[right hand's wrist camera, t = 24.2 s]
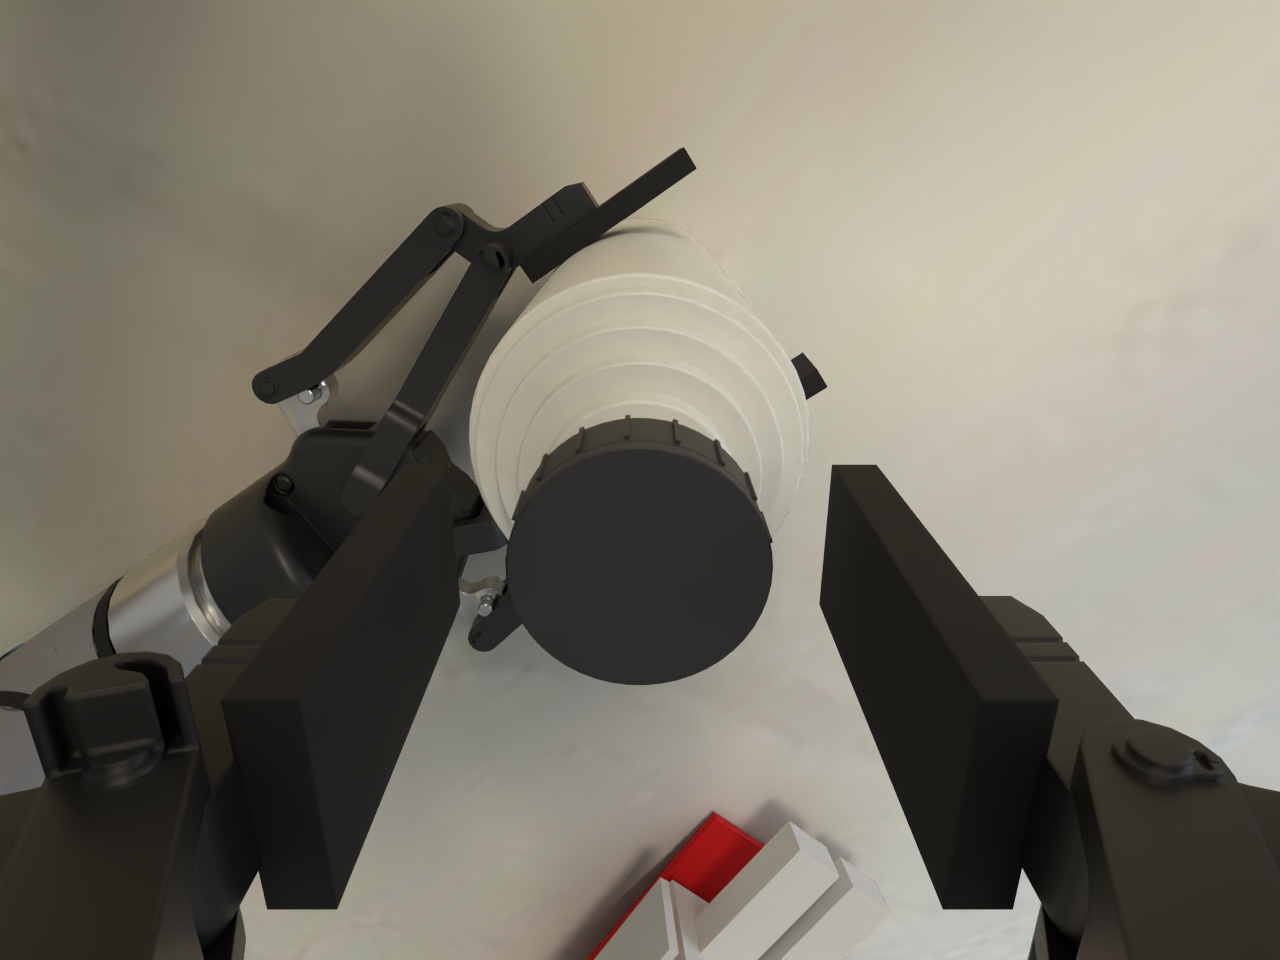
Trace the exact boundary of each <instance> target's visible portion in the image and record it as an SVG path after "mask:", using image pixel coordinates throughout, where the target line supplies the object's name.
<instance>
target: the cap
mask: <svg viewBox="0 0 1280 960" xmlns="http://www.w3.org/2000/svg"><path fill="white" fill-rule="evenodd" d="M756 500H758V498H757V496H756V493H755V490H754V487H753V484H752V481H751V478H750V475H749V473H748V472H745V473H744V472H743V471H742V469H741V468H740V467H739V465H738V464H737V462H736V461H735V460H734V459H733V458H732V457H731V456H730V455H729V454H728V453H727V452H726V451H725V450H724V449H723V448H722V447H721V444H720V441H719V440H717V439H715V441H713V440H711V439H710V438H708V437H706V436H705V435H703V434H701V433H700V432H698V431H695V430H693V429H691V428H689V427H686V426H684V425H681V424H678V420H676V419H673V421H672V422H670V421H666V420H659V419H653V418H630V415H625V419H618V420H613V421H609V422H604V423H601V424H598V425H595V426H593V427H590V428H587V429H585V428H584V427H581V428H580V429H579V433H577V434H575V435H573V436H572V437H570V438H569V439H567V440H566V441H565V442H563V443H562V444H560V445H559V446H558V447H557V448H556V449H555V450H554V451H552V452H551V453H550V454H549V455H548V454H547V453H545V454H544V455H543V458H542V461H541V464H540V466H539V467H538V468H537V470H536V472H535V473H534V475H533V477H532V478H531V480H530V482H529V484H528V486H527V489H526V491H524V490H522V491H521V494H520V497H519V499H518V502H517V505H516V508H515V511H514V513H513V516H512V519H511V520H513V521H515V522H514V525H513V528H512V531H511V534H510V538H509V542H508V546H507V554H506V578H507V584H508V589H509V594H510V597H511V600H512V603H513V606H514V608H515V610H516V612H517V614H518V616H519V618H520V620H521V622H522V623H523V625H524V626H525V628H526V629H527V631H528V632H529V634H530V635H531V636H532V637H533V638H534V639H535V640H536V642H537V643H538V644H539V645H540V646H541V647H542V648H543V649H545V650H546V651H547V652H548V653H549V654H550V655H551V656H553V657H554V658H556V659H557V660H559V661H560V662H561V663H563V664H564V665H566V666H568V667H570V668H572V669H574V670H576V671H578V672H580V673H582V674H585V675H587V676H590V677H593V678H596V679H600V680H603V681H607V682H612V683H619V684H626V685H650V684H661V683H666V682H671V681H676V680H679V679H682V678H685V677H689V676H692V675H694V674H696V673H698V672H701V671H703V670H705V669H707V668H709V667H710V666H712V665H714V664H715V663H717V662H719V661H720V660H722V659H723V658H724V657H726V656H727V655H728V654H729V653H731V652H732V651H733V650H734V649H735V648H736V647H737V646H738V645H739V644H740V643H741V642H742V641H743V640H744V639H745V638H746V636H747V635H748V634H749V633H750V631H751V630H752V629H753V627H754V626H755V624H756V622H757V620H758V619H759V617H760V615H761V614H762V611H763V609H764V606H765V604H766V601H767V599H768V595H769V591H770V587H771V581H772V571H773V562H772V550H771V545H770V543H772V537H771V535H770V532H769V529H768V526H767V523H766V520H765V517H764V515H763V512H762V511H761V512H760V510H759V507H758V504H757V501H756Z"/></svg>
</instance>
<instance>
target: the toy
mask: <svg viewBox="0 0 1280 960" xmlns="http://www.w3.org/2000/svg"><path fill="white" fill-rule="evenodd" d="M890 913H891V912H890V910H889V908H888V906H887V904H886V902H885V900H884V898H883V896H882V894H881V892H880V890H879V887H878V885H877V883H876V881H874V880H873V879H871V878H870V877H869V876H867V875H866V874H864V873H863V872H861V871H860V870H859V869H857V868H856V867H854V866H853V865H852V864H850V863H849V862H847V861H846V860H844V859H843V858H842V857H840V856H839V857H838V858H837V859H836V860H835V861H834V862H833V861H832V858H831V856H830V854H829V852H828V849H827V847H826V846H825V845H823V844H822V843H820V842H819V841H817V840H816V839H815V838H813V837H812V836H810V835H809V834H807V833H806V832H805V831H803V830H802V829H800V828H799V827H797V826H796V825H795V824H793V823H792V822H790V821H788V822H787V823H786V824H785V825H784V826H783V827H782V828H781V829H780V830H779V831H778V832H777V834H776V835H775V836H774V837H773V838H772V839H771V840H770V841H769V842H768V843H767V844H766V845H763V844H761V843H760V842H758V841H757V840H755V839H754V838H752V837H751V836H749V835H748V834H746V833H745V832H743V831H741V830H740V829H738V828H737V827H735V826H734V825H732V824H731V823H729V822H728V821H726V820H725V819H723V818H722V817H720V816H718V815H717V814H715V813H713V814H712V815H711V816H710V817H709V818H708V820H707V821H706V822H705V823H704V824H703V825H702V827H701V828H700V829H699V830H698V831H697V832H696V834H695V835H694V836H693V837H692V838H691V839H690V840H689V842H688V843H687V844H686V845H685V846H684V847H683V849H682V850H681V851H680V852H679V853H678V854H677V856H676V857H675V858H674V859H673V860H672V861H671V862H670V864H669V865H668V866H667V867H666V868H665V869H664V871H663V872H662V873H661V874H660V875H659V876H658V877H657V879H656V880H655V881H654V882H653V883H652V884H651V886H650V887H649V888H648V889H647V890H646V891H645V893H644V894H643V895H642V896H641V897H640V898H639V899H638V901H637V902H636V903H635V904H634V905H633V906H632V908H631V909H630V910H629V911H628V912H627V913H626V914H625V916H624V917H623V918H622V919H621V920H620V921H619V923H618V924H617V925H616V926H615V927H614V928H613V930H612V931H611V932H610V933H609V934H608V935H607V936H606V938H605V939H604V940H603V941H602V942H601V943H600V945H599V946H598V947H597V948H596V949H595V950H594V952H593V953H592V954H591V955H590V956H589V957H588V958H587V960H843V959H844V958H845V957H846V956H847V955H848V954H849V953H850V952H851V951H852V950H853V949H854V948H855V947H856V946H857V945H858V944H859V943H860V942H861V941H862V940H864V939H865V938H866V937H867V936H868V935H869V934H870V933H871V932H872V931H873V930H874V929H875V928H876V927H877V926H878V925H879V924H880V923H881V922H882V921H883V920H884V919H885V918H886V917H887V916H888V915H889V914H890Z"/></svg>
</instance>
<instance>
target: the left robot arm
mask: <svg viewBox="0 0 1280 960" xmlns="http://www.w3.org/2000/svg"><path fill="white" fill-rule="evenodd" d="M695 169H697V168H696V167H695V165H694V163H693V162H692V160H691V158H690V157H689V155H688V153H687V152H686V150H685V148H680V149H679V150H677V151H676V152H675V153H673V154H672V155H670V156H669V157H668V158H666V159H665V160H663V161H662V162H661V163H659V164H658V165H656V166H655V167H654V168H652V169H651V170H649V171H648V172H646V173H645V174H644V175H642V176H641V177H639V178H638V179H637V180H635V181H634V182H632V183H631V184H630V185H628V186H627V187H625V188H624V189H623V190H621V191H620V192H618V193H617V194H616V195H614V196H613V197H611V198H610V199H609V200H607V201H606V202H604V203H603V204H601V205H600V206H599V205H598V203H597V202H596V200H595V199H594V197H593V196H592V194H591V193H590V191H589V189H588V188H587V186H586V185H585V183H584V182H581V183H577V184H572V185H568V186H565V187H564V188H562V189H561V190H560V191H558V192H557V193H555V194H554V195H553V196H551V197H550V198H549V199H547V200H546V201H544V202H543V203H542V204H540V205H539V206H537V207H536V208H535V209H533V210H532V211H531V212H529V213H528V214H526V215H525V216H524V217H522V218H521V219H520V220H518V221H517V222H515V223H514V224H513V225H511V226H510V227H507V228H497V227H493V226H492V225H490V224H488V223H487V222H486V221H484V220H483V219H481V218H480V217H479V216H477V215H476V214H475V213H474V212H473V210H472V209H471V208H470V207H468V206H467V205H465V204H461V203H457V204H451V205H446V206H442V207H439V208H436V209H435V210H433V211H432V212H431V213H430V214H429V215H428V216H427V217H426V218H425V219H424V220H423V221H422V222H421V224H420V225H419V226H418V227H417V228H416V229H415V230H414V231H413V232H412V233H411V234H410V236H409V237H408V238H407V239H406V240H405V241H404V242H403V243H402V244H401V245H400V246H399V247H398V249H397V250H396V251H395V252H394V253H393V254H392V255H391V256H390V257H389V258H388V259H387V260H386V262H385V263H384V264H383V265H382V266H381V267H380V268H379V269H378V270H377V271H376V272H375V273H374V275H373V276H372V277H371V278H370V279H369V280H368V281H367V282H366V283H365V284H364V285H363V287H362V288H361V289H360V290H359V291H358V292H357V293H356V294H355V295H354V296H353V297H352V298H351V300H350V301H349V302H348V303H347V304H346V305H345V306H344V307H343V308H342V309H341V310H340V311H339V313H338V314H337V315H336V316H335V317H334V318H333V319H332V320H331V321H330V322H329V323H328V325H327V326H326V327H325V328H324V329H323V330H322V331H321V332H320V333H319V334H318V335H317V336H316V338H315V339H314V340H313V341H312V342H311V343H310V344H309V345H308V346H307V347H306V348H305V349H304V350H302V351H299V352H297V353H295V354H293V355H291V356H288V357H286V358H285V359H283V360H281V361H279V362H277V363H276V364H274V365H272V366H270V367H268V368H267V369H265V370H263V371H261V372H260V373H258V374H257V375H256V376H255V377H254V379H253V381H252V389H253V391H254V394H255V395H256V396H257V397H258V398H259V399H260V400H261V401H263V402H265V403H270V404H274V403H277V404H278V405H279V407H280V409H281V410H282V412H283V413H284V415H285V417H286V418H287V420H288V422H289V423H290V425H291V427H292V428H293V430H294V431H295V433H296V435H297V436H298V438H297V439H296V440H295V442H294V444H293V446H292V449H291V452H290V454H289V456H288V458H287V459H286V461H285V462H283V463H282V464H280V465H279V466H277V467H276V468H275V469H273V470H272V471H270V472H269V473H268V474H266V475H265V476H263V477H262V478H260V479H259V480H258V481H256V482H255V483H253V484H252V485H250V486H249V487H248V488H246V489H245V490H243V491H242V492H240V493H239V494H238V495H236V496H235V497H233V498H232V499H230V500H229V501H228V502H226V503H225V504H223V505H222V506H221V507H219V508H218V509H216V510H215V511H214V512H213V513H212V514H211V515H210V517H209V518H208V519H205V520H201V521H199V522H198V523H197V524H195V525H194V526H192V527H191V528H189V529H188V530H186V531H185V532H184V533H182V534H181V535H179V536H178V537H176V538H175V539H174V540H172V541H171V542H169V543H168V544H166V545H165V546H163V547H162V548H161V549H159V550H158V551H156V552H155V553H153V554H152V555H151V556H149V557H148V558H146V559H145V560H143V561H142V562H140V563H139V564H138V565H136V566H135V567H133V568H132V569H130V570H129V571H128V572H127V573H126V574H125V575H124V576H122V577H121V578H120V579H118V580H117V581H115V582H114V583H113V584H112V585H111V586H110V587H109V588H107V589H106V590H104V591H103V592H101V593H100V594H98V595H97V596H95V597H94V598H92V599H90V600H89V601H87V602H86V603H84V604H83V605H81V606H80V607H78V608H77V609H75V610H74V611H72V612H71V613H69V614H68V615H66V616H65V617H63V618H62V619H60V620H59V621H57V622H55V623H54V624H52V625H51V626H49V627H48V628H47V629H45V630H44V631H42V632H41V633H39V634H38V635H36V636H35V637H34V638H32V639H31V640H29V641H28V642H26V643H22V644H20V645H18V646H17V647H15V648H13V649H12V650H10V651H9V652H7V653H6V654H5V655H3V656H2V657H0V795H5V794H10V793H15V792H20V791H24V790H29V789H33V788H37V787H41V786H42V783H43V781H44V779H45V774H44V771H43V768H42V765H41V762H40V759H39V756H38V753H37V750H36V747H35V744H34V741H33V738H32V735H31V732H30V729H29V726H28V723H27V720H26V717H25V714H24V711H23V708H22V704H23V703H24V702H25V701H26V699H27V698H28V697H29V696H30V695H31V694H32V693H33V692H34V691H35V690H36V688H38V687H39V686H41V685H43V684H44V683H46V682H47V681H49V680H50V679H52V678H54V677H55V676H57V675H58V674H60V673H62V672H64V671H66V670H69V669H71V668H74V667H76V666H79V665H81V664H83V663H86V662H88V661H91V660H95V659H99V658H103V657H107V656H111V655H115V654H119V653H131V652H144V651H149V652H155V653H161V654H167V655H170V656H171V657H173V658H174V659H176V660H177V661H178V662H180V663H181V664H182V668H183V673H184V677H185V678H186V676H187V675H188V674H189V673H190V672H191V671H192V670H193V668H194V667H195V666H196V665H197V664H201V659H202V658H203V657H204V656H205V655H206V654H207V653H208V651H209V650H210V649H211V648H212V647H213V646H214V645H218V640H219V639H220V638H221V637H222V636H223V634H224V633H225V632H226V631H227V630H228V629H229V628H230V626H231V625H232V624H233V623H234V622H235V621H236V620H237V619H238V618H239V617H240V616H242V615H244V614H245V613H247V612H249V611H250V610H252V609H254V608H255V607H257V606H259V605H260V604H262V603H264V602H265V601H267V600H269V599H300V597H301V596H302V595H303V593H304V592H305V591H306V590H307V588H308V587H309V586H310V584H311V583H312V582H313V581H314V579H315V578H316V577H317V575H318V574H319V573H320V572H321V570H322V569H323V568H324V566H325V565H326V564H327V563H328V561H329V560H330V559H331V557H332V556H333V555H334V554H335V552H336V551H337V550H338V549H339V547H340V546H341V545H342V543H343V542H344V541H345V540H346V538H347V537H348V536H349V534H350V533H351V532H352V531H353V529H354V528H355V527H356V525H357V524H358V523H359V522H360V520H361V519H362V518H363V516H364V515H365V514H366V513H367V511H368V510H369V509H370V507H371V506H372V505H373V504H374V502H375V501H376V500H377V498H378V497H379V496H380V495H381V493H382V492H383V491H384V489H385V488H386V487H387V486H388V484H389V483H390V482H391V480H392V479H393V478H394V477H395V475H396V474H397V473H398V471H399V470H400V469H401V468H402V466H403V465H448V472H449V483H450V494H451V505H452V516H453V527H454V538H455V549H456V560H457V571H458V582H459V593H460V607H459V609H458V612H457V614H456V617H457V618H459V619H460V620H461V621H462V622H464V623H465V624H466V625H467V626H468V627H470V628H471V629H470V632H469V636H468V640H469V643H470V645H471V646H472V647H473V648H474V649H476V650H478V651H483V652H485V651H490V650H492V649H494V648H495V647H496V646H497V645H498V644H499V643H501V642H502V641H503V640H504V639H505V638H506V637H507V636H508V635H510V634H511V633H512V632H513V631H514V630H515V629H516V628H518V627H519V626H520V625H521V624H522V622H521V620H520V618H519V616H518V614H517V612H516V610H515V608H514V606H513V603H512V600H511V597H510V594H509V589H508V584H507V578H506V579H505V580H504V581H502V580H501V579H500V578H499V577H497V576H492V577H490V578H486V579H484V580H482V581H480V582H476V583H471V582H467V581H465V580H463V579H462V578H461V575H462V572H463V569H464V566H465V563H466V560H467V557H468V555H470V554H476V553H482V552H488V551H493V550H497V549H499V548H501V547H503V546H504V545H505V544H507V543H508V542H509V540H508V539H507V538H506V536H505V535H504V534H503V532H502V531H501V529H500V528H499V527H498V525H497V523H496V521H495V520H494V519H493V517H492V515H491V513H490V512H489V510H488V508H487V506H486V504H485V502H484V501H483V498H482V496H481V493H480V491H479V488H478V487H477V486H476V484H475V483H474V482H473V481H472V479H471V478H470V477H469V476H468V475H467V474H466V473H465V472H463V471H462V470H461V469H459V468H458V467H457V466H455V465H454V464H453V463H452V462H451V459H450V457H449V455H448V453H447V451H446V448H445V446H444V444H443V443H442V442H441V440H440V439H439V438H438V437H437V435H436V434H435V433H434V431H433V430H432V429H431V430H429V431H428V432H427V431H425V430H424V428H425V427H426V425H427V423H428V421H429V420H430V418H431V416H432V414H433V413H434V411H435V409H436V407H437V406H438V404H439V401H440V399H441V397H442V396H443V394H444V392H445V390H446V389H447V387H448V385H449V383H450V382H451V380H452V378H453V377H454V375H455V373H456V371H457V370H458V368H459V366H460V364H461V363H462V361H463V359H464V358H465V356H466V354H467V352H468V351H469V349H470V347H471V345H472V344H473V342H474V340H475V339H476V337H477V335H478V333H479V332H480V330H481V328H482V326H483V325H484V323H485V321H486V319H487V318H488V316H489V314H490V313H491V311H492V309H493V307H494V306H495V304H496V302H497V300H498V299H499V297H500V295H501V294H502V292H503V290H504V288H505V287H506V285H507V283H508V281H509V280H510V278H511V276H512V275H513V273H514V271H515V269H516V268H517V267H518V266H519V265H520V266H521V267H522V269H523V270H524V272H525V273H526V275H527V276H528V277H529V279H530V280H531V282H532V283H534V282H536V281H537V280H538V279H540V278H541V277H543V276H544V275H546V274H547V273H548V272H550V271H551V270H553V269H554V268H556V267H557V266H558V265H560V264H561V263H563V262H564V261H565V260H567V259H568V258H570V257H571V256H572V255H574V254H575V253H577V252H578V251H580V250H581V249H583V248H584V247H585V246H587V245H588V244H590V243H591V242H593V241H594V240H595V239H597V238H598V237H600V236H601V235H603V234H604V233H605V232H607V231H608V230H610V229H611V228H613V227H614V226H615V225H617V224H618V223H620V222H621V221H622V220H624V219H625V218H627V217H628V216H630V215H631V214H632V213H634V212H635V211H637V210H638V209H640V208H641V207H642V206H644V205H645V204H647V203H648V202H650V201H651V200H652V199H654V198H655V197H657V196H658V195H660V194H661V193H662V192H664V191H665V190H667V189H668V188H669V187H671V186H672V185H674V184H675V183H677V182H678V181H679V180H681V179H682V178H684V177H685V176H687V175H688V174H689V173H691V172H692V171H694V170H695ZM455 251H456V252H457V253H458V254H460V255H461V256H463V257H464V258H465V259H467V260H468V261H469V262H471V264H470V266H469V268H468V270H467V272H466V273H465V275H464V277H463V279H462V281H461V282H460V284H459V286H458V288H457V290H456V291H455V293H454V295H453V297H452V299H451V300H450V302H449V304H448V306H447V308H446V309H445V311H444V313H443V315H442V317H441V318H440V320H439V322H438V324H437V325H436V327H435V329H434V331H433V333H432V334H431V336H430V338H429V340H428V342H427V343H426V345H425V347H424V349H423V351H422V352H421V354H420V356H419V358H418V360H417V361H416V363H415V365H414V367H413V369H412V370H411V372H410V374H409V376H408V377H407V379H406V381H405V383H404V385H403V386H402V388H401V390H400V392H399V394H398V395H397V397H396V399H395V401H394V402H393V404H392V405H391V406H390V408H389V409H388V411H387V412H386V414H385V416H384V417H383V419H382V421H355V420H329V419H328V416H327V414H326V407H327V404H328V402H329V401H330V400H331V399H332V398H333V397H334V396H336V394H337V392H338V382H337V380H336V377H335V376H334V374H333V373H335V372H336V371H338V370H339V369H340V368H342V367H343V366H345V365H346V364H347V363H349V362H350V361H351V360H352V359H353V358H355V357H356V356H357V355H358V354H359V353H360V352H361V351H362V350H363V349H364V347H365V346H366V345H367V344H368V343H369V342H370V341H371V340H372V339H373V338H374V337H375V336H376V335H377V334H378V333H379V332H380V331H381V330H382V328H383V327H384V326H385V325H386V324H387V323H388V322H389V321H390V320H391V319H392V318H393V317H394V316H395V315H396V314H397V313H398V312H399V311H400V309H401V308H402V307H403V306H404V305H405V304H406V303H407V302H408V301H409V300H410V299H411V298H412V297H413V296H414V295H415V294H416V293H417V292H418V290H419V289H420V288H421V287H422V286H423V285H424V284H425V283H426V282H427V281H428V280H429V279H430V278H431V277H432V276H433V275H434V274H435V273H436V271H437V270H438V269H439V268H440V267H441V266H442V265H443V264H444V263H445V262H446V261H447V260H448V259H449V258H450V257H451V256H452V255H453V254H454V252H455ZM791 362H792V364H793V365H794V367H795V369H796V371H797V374H798V376H799V379H800V382H801V385H802V387H803V390H804V393H805V398H806V400H807V399H809V398H810V397H812V396H814V395H815V394H817V393H818V392H820V391H822V390H823V389H825V388H827V385H826V384H825V382H824V380H823V379H822V377H821V375H820V374H819V372H818V370H817V369H816V368H815V366H814V365H813V364H812V363H811V362H810V361H809V359H808V358H807V357H806V356H805V355H804V354H803V353H801V354H800V355H798V356H797V357H795V358H793V359H792V360H791Z"/></svg>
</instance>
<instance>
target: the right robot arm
mask: <svg viewBox="0 0 1280 960" xmlns="http://www.w3.org/2000/svg"><path fill="white" fill-rule="evenodd" d="M459 607H460V593H459V582H458V571H457V560H456V549H455V538H454V527H453V516H452V505H451V494H450V483H449V472H448V465H403V466H402V468H401V469H400V470H399V471H398V473H397V474H396V475H395V477H394V478H393V479H392V480H391V482H390V483H389V484H388V486H387V487H386V488H385V489H384V491H383V492H382V493H381V495H380V496H379V497H378V498H377V500H376V501H375V502H374V504H373V505H372V506H371V507H370V509H369V510H368V511H367V513H366V514H365V515H364V516H363V518H362V519H361V520H360V522H359V523H358V524H357V525H356V527H355V528H354V529H353V531H352V532H351V533H350V534H349V536H348V537H347V538H346V540H345V541H344V542H343V543H342V545H341V546H340V547H339V549H338V550H337V551H336V552H335V554H334V555H333V556H332V557H331V559H330V560H329V561H328V563H327V564H326V565H325V566H324V568H323V569H322V570H321V572H320V573H319V574H318V575H317V577H316V578H315V579H314V581H313V582H312V583H311V584H310V586H309V587H308V588H307V590H306V591H305V592H304V593H303V595H302V596H301V597H300V599H269V600H267V601H265V602H264V603H262V604H260V605H259V606H257V607H255V608H254V609H252V610H250V611H249V612H247V613H245V614H244V615H242V616H240V617H239V618H238V619H237V620H236V621H235V622H234V623H233V624H232V625H231V626H230V628H229V629H228V630H227V631H226V632H225V633H224V634H223V636H222V637H221V638H220V639H219V640H218V645H214V646H213V647H212V648H211V649H210V650H209V651H208V653H207V654H206V655H205V656H204V657H203V658H202V659H201V664H197V665H196V666H195V667H194V668H193V670H192V671H191V672H190V673H189V674H188V675H187V676H186V678H185V677H184V673H183V668H182V664H181V663H180V662H178V661H177V660H176V659H174V658H173V657H171V656H170V655H167V654H161V653H155V652H149V651H144V652H131V653H119V654H115V655H111V656H107V657H103V658H99V659H95V660H91V661H88V662H86V663H83V664H81V665H79V666H76V667H74V668H71V669H69V670H66V671H64V672H62V673H60V674H58V675H57V676H55V677H54V678H52V679H50V680H49V681H47V682H46V683H44V684H43V685H41V686H39V687H38V688H36V690H35V691H34V692H33V693H32V694H31V695H30V696H29V697H28V698H27V699H26V701H25V702H24V703H23V704H22V708H23V711H24V714H25V717H26V720H27V723H28V726H29V729H30V732H31V735H32V738H33V741H34V744H35V747H36V750H37V753H38V756H39V759H40V762H41V765H42V768H43V771H44V774H45V779H44V781H43V783H42V786H41V787H37V788H33V789H29V790H24V791H20V792H15V793H10V794H5V795H0V960H244V951H245V943H246V936H245V930H244V923H243V919H242V914H241V910H240V904H241V902H242V900H243V898H244V896H245V894H246V893H247V891H248V889H249V887H250V885H251V883H252V881H253V880H254V878H255V876H256V874H257V872H258V870H259V875H260V879H261V884H262V888H263V892H264V897H265V901H266V906H267V909H337V908H338V906H339V903H340V901H341V898H342V896H343V893H344V891H345V888H346V886H347V883H348V881H349V878H350V876H351V874H352V871H353V869H354V866H355V864H356V861H357V859H358V856H359V854H360V851H361V849H362V846H363V844H364V841H365V839H366V836H367V834H368V832H369V829H370V827H371V824H372V822H373V819H374V817H375V814H376V812H377V809H378V807H379V804H380V802H381V799H382V797H383V794H384V792H385V790H386V787H387V785H388V782H389V780H390V777H391V775H392V772H393V770H394V767H395V765H396V762H397V760H398V757H399V755H400V753H401V750H402V748H403V745H404V743H405V740H406V738H407V735H408V733H409V730H410V728H411V725H412V723H413V720H414V718H415V715H416V713H417V711H418V708H419V706H420V703H421V701H422V698H423V696H424V693H425V691H426V688H427V686H428V683H429V681H430V678H431V676H432V674H433V671H434V669H435V666H436V664H437V661H438V659H439V656H440V654H441V651H442V649H443V646H444V644H445V641H446V639H447V636H448V634H449V632H450V629H451V627H452V624H453V622H454V619H455V617H456V614H457V612H458V609H459ZM820 607H821V609H822V612H823V614H824V617H825V619H826V622H827V624H828V627H829V629H830V632H831V634H832V636H833V639H834V641H835V644H836V646H837V649H838V651H839V654H840V656H841V659H842V661H843V664H844V666H845V669H846V671H847V674H848V676H849V678H850V681H851V683H852V686H853V688H854V691H855V693H856V696H857V698H858V701H859V703H860V706H861V708H862V711H863V713H864V715H865V718H866V720H867V723H868V725H869V728H870V730H871V733H872V735H873V738H874V740H875V743H876V745H877V748H878V750H879V753H880V755H881V757H882V760H883V762H884V765H885V767H886V770H887V772H888V775H889V777H890V780H891V782H892V785H893V787H894V790H895V792H896V794H897V797H898V799H899V802H900V804H901V807H902V809H903V812H904V814H905V817H906V819H907V822H908V824H909V827H910V829H911V832H912V834H913V836H914V839H915V841H916V844H917V846H918V849H919V851H920V854H921V856H922V859H923V861H924V864H925V866H926V869H927V871H928V874H929V876H930V878H931V881H932V883H933V886H934V888H935V891H936V893H937V896H938V898H939V901H940V903H941V906H942V908H943V909H1013V906H1014V901H1015V897H1016V892H1017V888H1018V884H1019V879H1020V875H1021V870H1022V868H1023V870H1024V872H1025V874H1026V875H1027V877H1028V879H1029V881H1030V883H1031V885H1032V886H1033V888H1034V890H1035V892H1036V894H1037V896H1038V898H1039V899H1040V901H1041V906H1040V910H1039V914H1038V919H1037V923H1036V927H1035V931H1034V935H1033V939H1032V944H1031V948H1030V952H1029V956H1028V960H1280V792H1278V791H1273V790H1268V789H1264V788H1259V787H1254V786H1249V785H1246V784H1242V783H1238V782H1237V780H1236V778H1235V776H1234V774H1233V773H1232V772H1231V771H1230V769H1229V768H1228V767H1227V765H1226V764H1225V763H1224V761H1223V760H1222V759H1221V758H1220V757H1219V756H1218V755H1216V754H1215V753H1214V752H1212V751H1211V750H1209V749H1208V748H1207V747H1205V746H1204V745H1203V744H1201V743H1200V742H1199V741H1197V740H1195V739H1193V738H1191V737H1188V736H1186V735H1184V734H1182V733H1180V732H1178V731H1176V730H1174V729H1172V728H1169V727H1165V726H1162V725H1158V724H1155V723H1151V722H1148V721H1144V720H1138V719H1134V718H1133V717H1132V716H1131V714H1130V713H1129V712H1128V711H1127V710H1126V709H1125V708H1124V707H1123V705H1122V704H1121V703H1120V702H1119V701H1118V700H1117V699H1116V698H1115V696H1114V695H1113V694H1112V693H1111V692H1110V691H1109V690H1108V688H1107V687H1106V686H1105V685H1104V684H1103V683H1102V682H1101V681H1100V679H1099V678H1098V677H1097V676H1096V675H1095V674H1094V673H1093V672H1092V670H1091V669H1090V668H1089V667H1088V666H1087V665H1086V664H1085V663H1084V662H1080V660H1079V656H1078V655H1077V654H1076V652H1075V651H1074V650H1073V649H1072V648H1071V647H1070V646H1069V644H1068V643H1067V642H1063V638H1062V637H1061V635H1060V634H1059V633H1058V632H1057V631H1056V630H1055V629H1054V628H1053V626H1052V625H1051V624H1050V623H1049V622H1048V621H1047V620H1046V619H1045V617H1044V616H1043V615H1041V614H1040V613H1038V612H1036V611H1035V610H1033V609H1031V608H1030V607H1028V606H1026V605H1025V604H1023V603H1021V602H1020V601H1018V600H1016V599H1015V598H1013V597H1011V596H978V595H977V593H976V592H975V591H974V590H973V588H972V587H971V586H970V584H969V583H968V582H967V581H966V579H965V578H964V577H963V575H962V574H961V573H960V572H959V570H958V569H957V568H956V566H955V565H954V564H953V563H952V561H951V560H950V559H949V558H948V556H947V555H946V554H945V552H944V551H943V550H942V549H941V547H940V546H939V545H938V543H937V542H936V541H935V540H934V538H933V537H932V536H931V534H930V533H929V532H928V531H927V529H926V528H925V527H924V525H923V524H922V523H921V522H920V520H919V519H918V518H917V516H916V515H915V514H914V513H913V511H912V510H911V509H910V507H909V506H908V505H907V504H906V502H905V501H904V500H903V498H902V497H901V496H900V495H899V493H898V492H897V491H896V489H895V488H894V487H893V486H892V484H891V483H890V482H889V480H888V479H887V478H886V477H885V475H884V474H883V473H882V471H881V470H880V469H879V468H878V466H877V465H832V472H831V483H830V494H829V505H828V516H827V527H826V538H825V549H824V560H823V571H822V582H821V593H820Z"/></svg>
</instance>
